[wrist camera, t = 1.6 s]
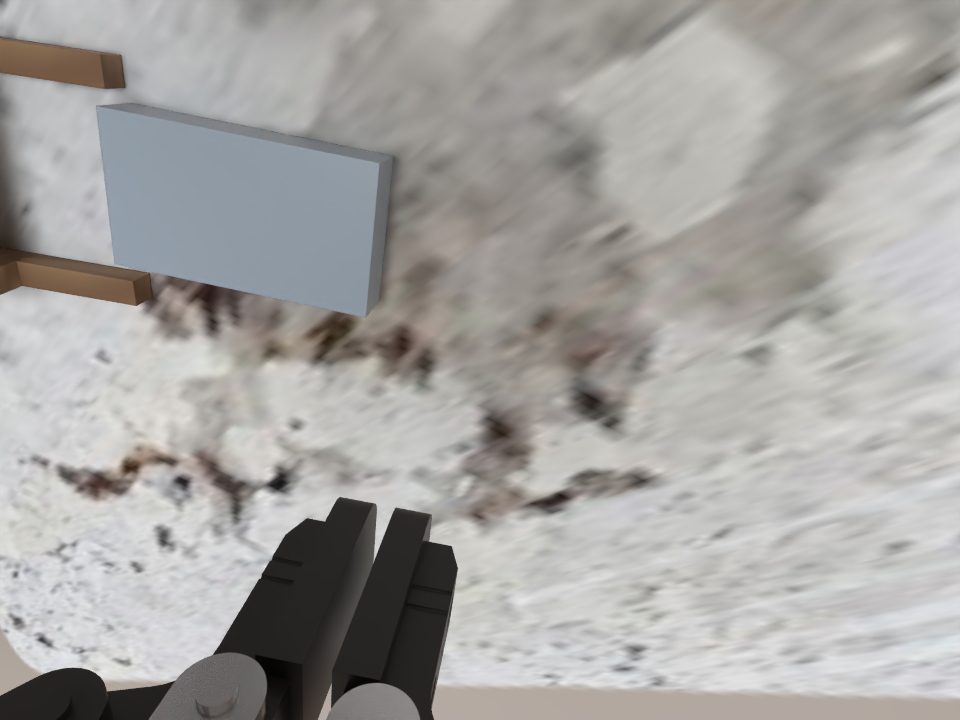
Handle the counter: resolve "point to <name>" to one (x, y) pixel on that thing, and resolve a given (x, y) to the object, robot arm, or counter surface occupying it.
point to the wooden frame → (52, 273)
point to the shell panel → (245, 207)
